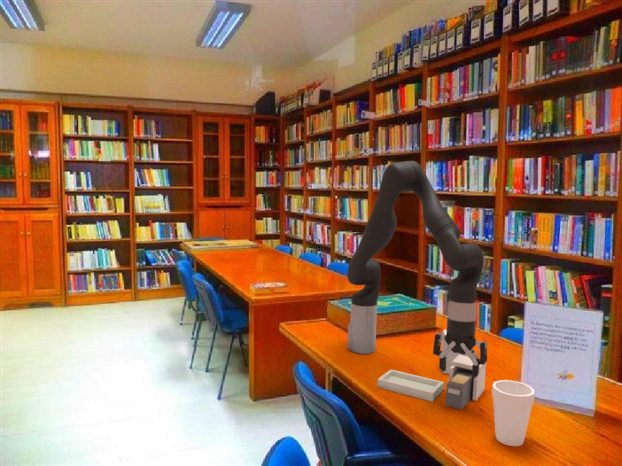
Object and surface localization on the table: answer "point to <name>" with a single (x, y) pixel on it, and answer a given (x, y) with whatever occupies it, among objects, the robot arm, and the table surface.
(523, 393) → the foam cup
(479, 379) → the bay
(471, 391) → the grey rectangular block
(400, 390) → the tray
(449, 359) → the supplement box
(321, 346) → the table surface
